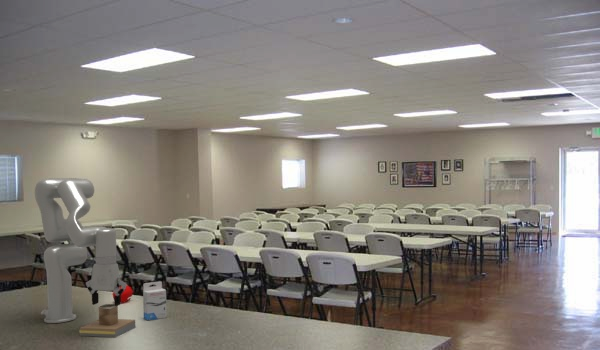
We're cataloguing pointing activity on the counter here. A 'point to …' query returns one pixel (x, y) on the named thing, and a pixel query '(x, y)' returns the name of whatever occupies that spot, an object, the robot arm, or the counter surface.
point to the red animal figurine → (125, 294)
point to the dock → (107, 328)
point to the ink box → (154, 301)
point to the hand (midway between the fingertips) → (106, 304)
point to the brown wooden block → (108, 314)
